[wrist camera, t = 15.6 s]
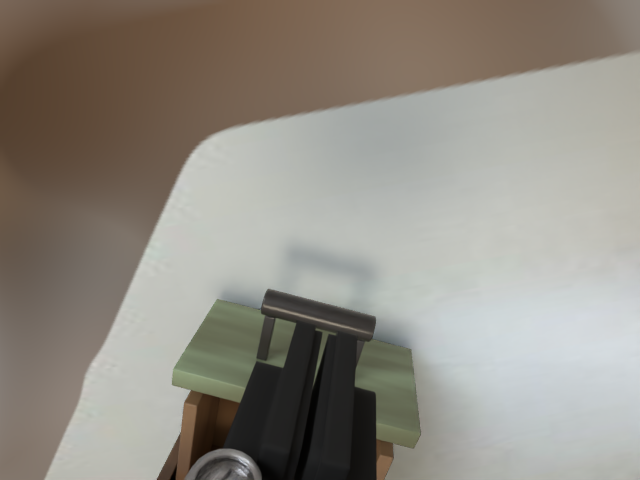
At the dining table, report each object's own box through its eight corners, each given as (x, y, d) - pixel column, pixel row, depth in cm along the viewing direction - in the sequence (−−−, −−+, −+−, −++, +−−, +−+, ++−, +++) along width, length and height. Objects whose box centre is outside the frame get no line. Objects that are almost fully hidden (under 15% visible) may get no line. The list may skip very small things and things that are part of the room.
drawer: (225, 239, 26) (178, 299, 20) (434, 293, 26) (452, 370, 20) (198, 434, 34) (159, 519, 28) (359, 476, 34) (355, 572, 28)
